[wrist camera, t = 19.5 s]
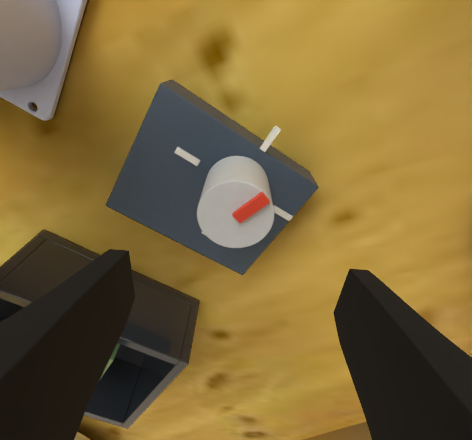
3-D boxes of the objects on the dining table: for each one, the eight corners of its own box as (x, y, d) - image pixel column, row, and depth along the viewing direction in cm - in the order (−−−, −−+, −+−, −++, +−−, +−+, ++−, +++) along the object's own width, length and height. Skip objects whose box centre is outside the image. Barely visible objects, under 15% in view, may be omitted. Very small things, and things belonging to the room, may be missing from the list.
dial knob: (233, 223, 17) (230, 264, 14) (192, 182, 16) (179, 215, 13) (281, 190, 16) (290, 225, 13) (241, 141, 15) (240, 166, 11)
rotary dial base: (120, 188, 19) (103, 207, 17) (183, 54, 15) (172, 54, 13) (242, 253, 22) (242, 277, 19) (324, 154, 18) (336, 168, 15)
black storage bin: (14, 315, 26) (-41, 378, 21) (43, 228, 21) (-20, 283, 16) (147, 365, 29) (127, 429, 24) (200, 300, 24) (188, 364, 19)
